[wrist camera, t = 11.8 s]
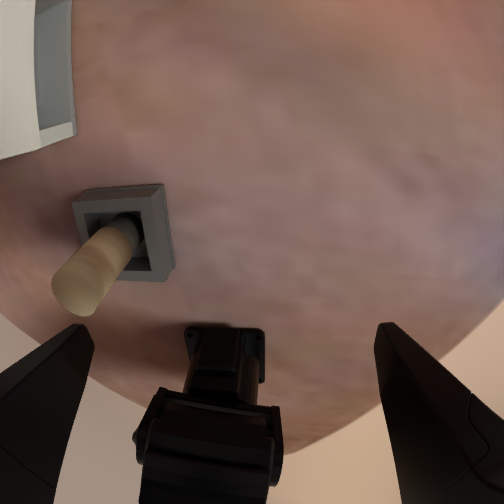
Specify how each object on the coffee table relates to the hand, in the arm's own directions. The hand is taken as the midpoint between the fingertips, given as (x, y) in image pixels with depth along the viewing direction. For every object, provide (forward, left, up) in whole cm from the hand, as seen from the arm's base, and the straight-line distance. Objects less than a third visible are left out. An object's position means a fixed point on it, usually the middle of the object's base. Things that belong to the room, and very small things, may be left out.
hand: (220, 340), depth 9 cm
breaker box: (+10, +17, -12) cm, 23 cm away
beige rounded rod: (-2, +8, -12) cm, 15 cm away
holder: (-2, +8, -12) cm, 15 cm away
